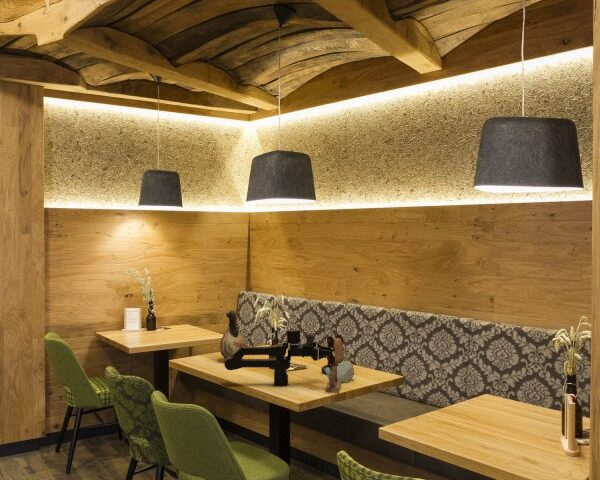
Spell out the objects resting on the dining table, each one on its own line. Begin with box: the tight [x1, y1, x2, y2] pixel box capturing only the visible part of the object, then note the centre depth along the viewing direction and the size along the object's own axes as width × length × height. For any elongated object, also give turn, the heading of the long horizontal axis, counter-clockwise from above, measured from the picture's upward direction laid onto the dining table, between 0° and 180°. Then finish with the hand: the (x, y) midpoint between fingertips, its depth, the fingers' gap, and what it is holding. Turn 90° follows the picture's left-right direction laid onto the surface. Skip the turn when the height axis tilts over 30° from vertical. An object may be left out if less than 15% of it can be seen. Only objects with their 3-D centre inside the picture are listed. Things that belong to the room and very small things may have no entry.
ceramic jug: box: [219, 310, 247, 361], centre depth 355 cm, size 17×15×30 cm
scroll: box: [321, 334, 344, 374], centre depth 326 cm, size 15×15×20 cm
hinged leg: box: [324, 367, 331, 381], centre depth 292 cm, size 2×2×7 cm
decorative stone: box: [337, 360, 355, 383], centre depth 308 cm, size 13×11×10 cm
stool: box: [325, 366, 342, 394], centre depth 291 cm, size 6×14×10 cm, turn 171°
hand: (331, 350), depth 301 cm, fingers open, 9 cm apart
